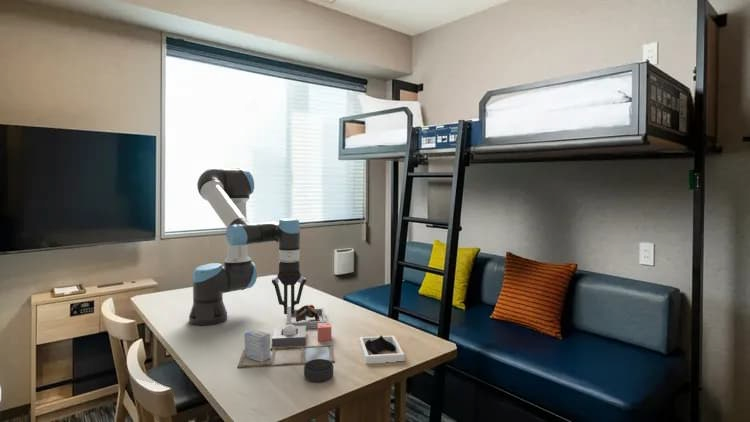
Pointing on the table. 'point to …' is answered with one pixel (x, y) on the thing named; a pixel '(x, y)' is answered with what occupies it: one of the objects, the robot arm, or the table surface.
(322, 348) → the wooden window frame
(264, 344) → the medicine box
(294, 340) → the grey square holed block
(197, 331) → the table surface
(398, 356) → the controller tray rim
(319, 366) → the smart speaker
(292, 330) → the dome
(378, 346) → the gaming controller
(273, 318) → the table surface
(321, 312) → the mug coaster rim
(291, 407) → the table surface
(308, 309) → the pottery mug
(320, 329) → the die
